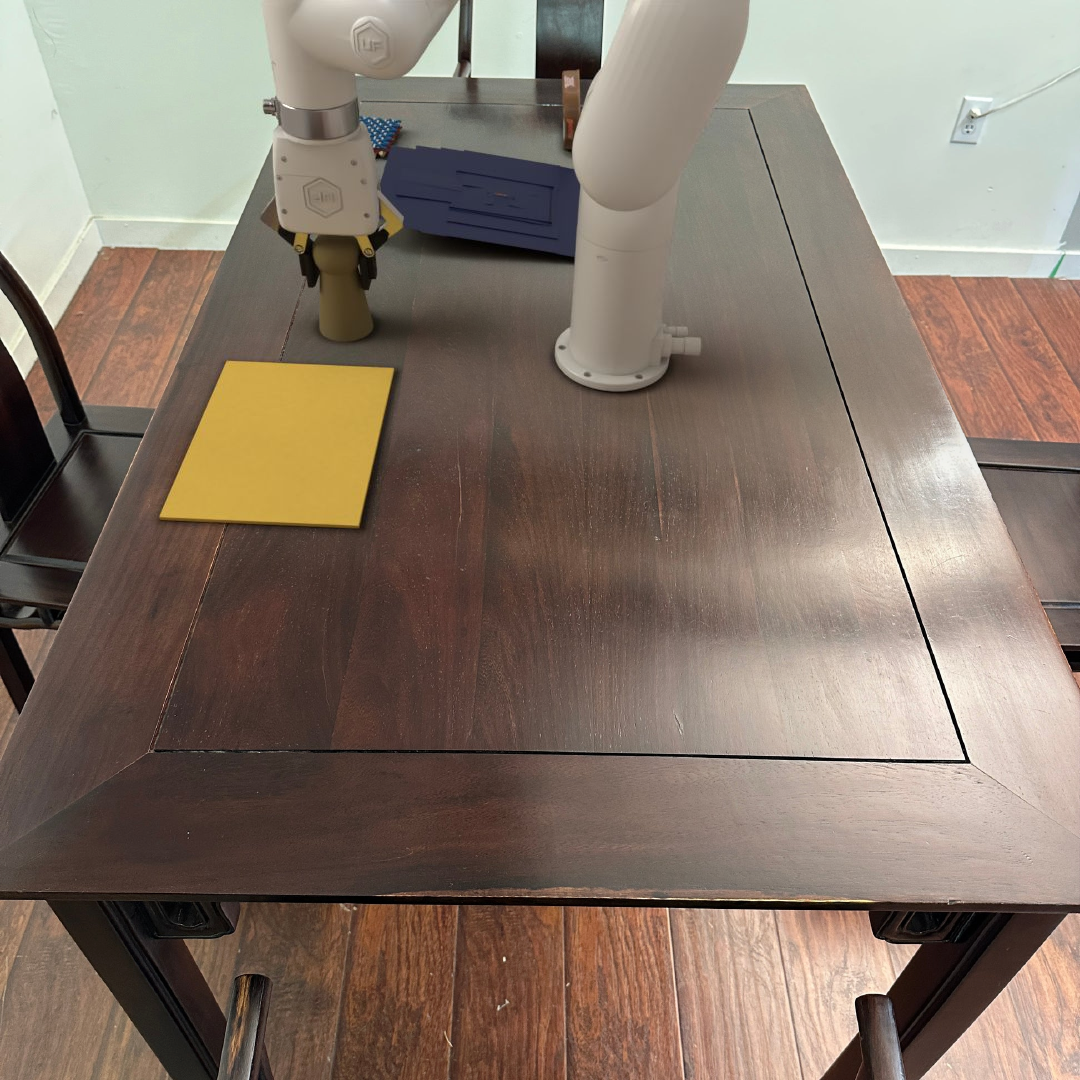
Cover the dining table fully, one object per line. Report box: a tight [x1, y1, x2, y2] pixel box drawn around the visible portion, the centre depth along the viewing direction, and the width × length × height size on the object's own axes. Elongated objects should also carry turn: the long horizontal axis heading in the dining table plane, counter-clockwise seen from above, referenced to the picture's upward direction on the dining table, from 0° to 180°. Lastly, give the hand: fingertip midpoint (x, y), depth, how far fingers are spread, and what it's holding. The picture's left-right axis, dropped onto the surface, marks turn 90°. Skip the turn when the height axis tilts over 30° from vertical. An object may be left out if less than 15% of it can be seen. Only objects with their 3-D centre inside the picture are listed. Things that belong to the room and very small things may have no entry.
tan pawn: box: [312, 234, 374, 343], centre depth 105 cm, size 6×6×11 cm
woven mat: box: [359, 115, 403, 159], centre depth 142 cm, size 10×11×2 cm
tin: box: [561, 69, 582, 150], centre depth 143 cm, size 15×3×8 cm, turn 179°
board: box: [158, 360, 395, 529], centre depth 95 cm, size 18×24×1 cm
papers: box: [379, 145, 580, 258], centre depth 128 cm, size 24×30×4 cm
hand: (340, 280), depth 105 cm, fingers closed on tan pawn, 5 cm apart
